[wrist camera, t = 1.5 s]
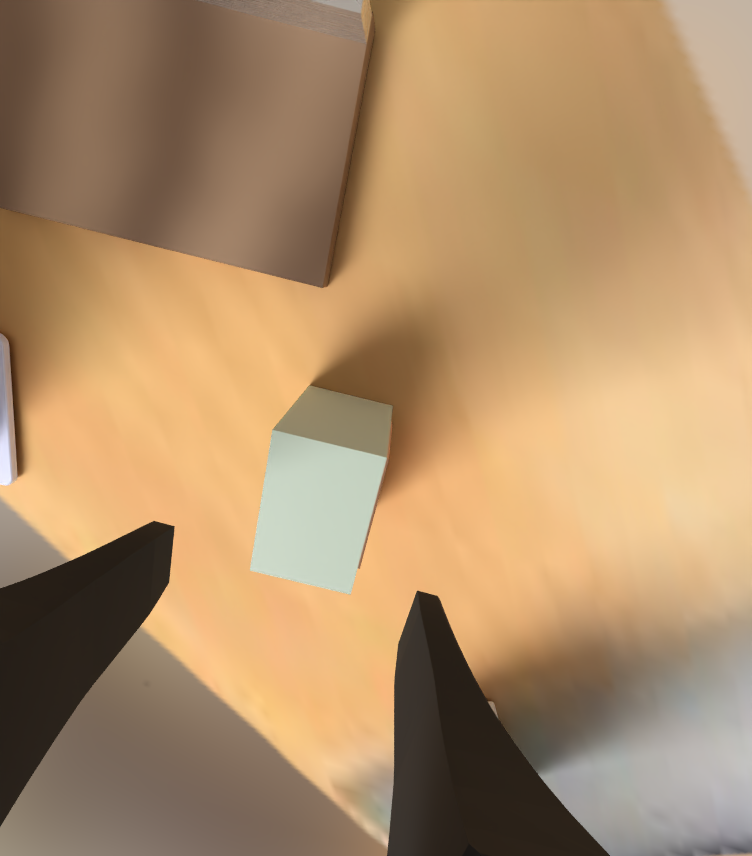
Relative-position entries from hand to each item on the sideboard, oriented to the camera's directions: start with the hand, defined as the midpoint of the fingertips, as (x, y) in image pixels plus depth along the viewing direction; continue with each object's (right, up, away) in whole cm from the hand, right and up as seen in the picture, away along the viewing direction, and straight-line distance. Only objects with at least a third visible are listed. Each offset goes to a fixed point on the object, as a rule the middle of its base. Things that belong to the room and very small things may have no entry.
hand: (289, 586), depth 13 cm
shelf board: (-5, +16, +5) cm, 18 cm away
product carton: (+1, +3, +9) cm, 10 cm away
